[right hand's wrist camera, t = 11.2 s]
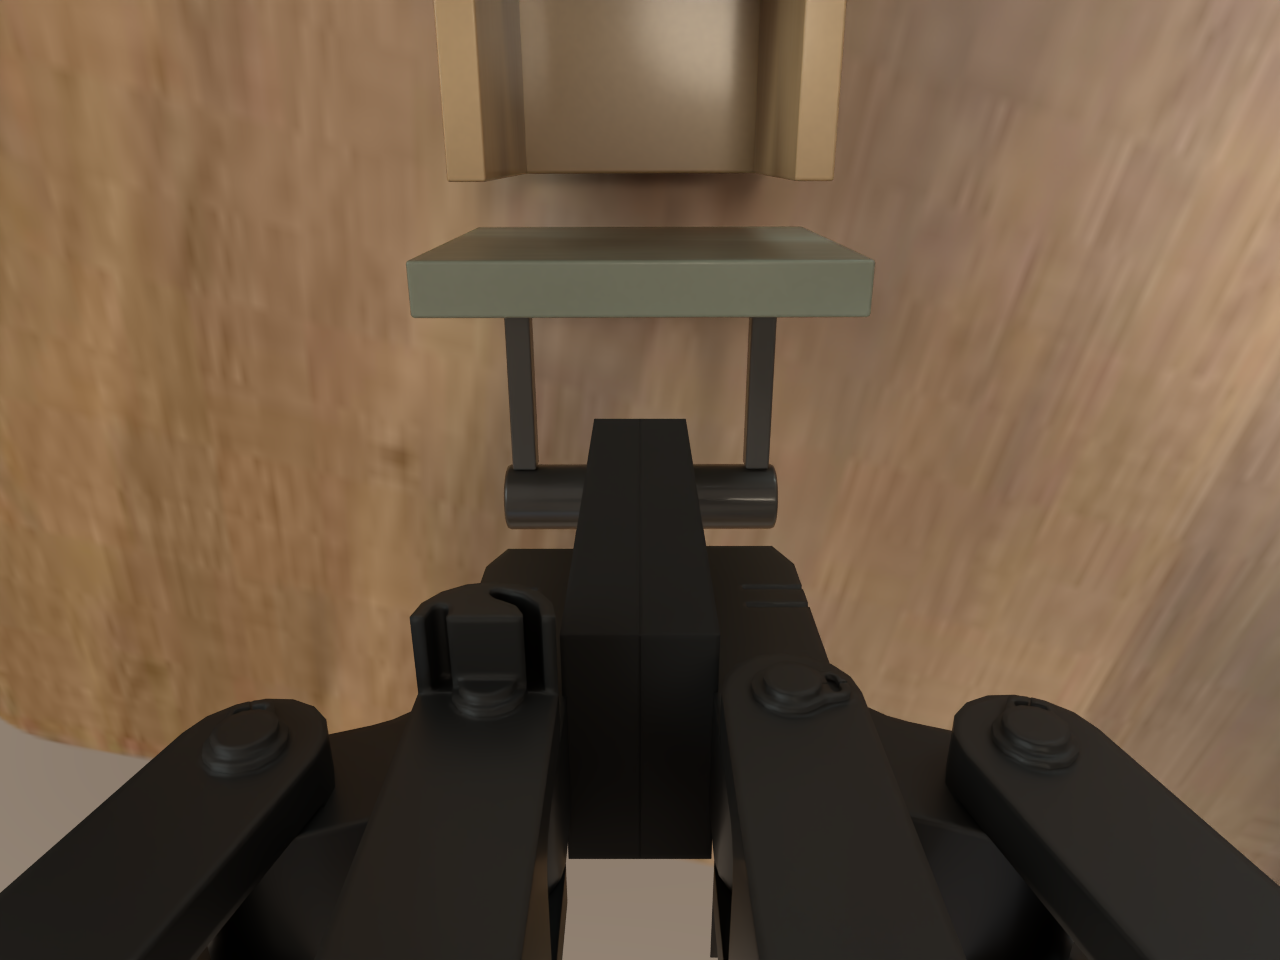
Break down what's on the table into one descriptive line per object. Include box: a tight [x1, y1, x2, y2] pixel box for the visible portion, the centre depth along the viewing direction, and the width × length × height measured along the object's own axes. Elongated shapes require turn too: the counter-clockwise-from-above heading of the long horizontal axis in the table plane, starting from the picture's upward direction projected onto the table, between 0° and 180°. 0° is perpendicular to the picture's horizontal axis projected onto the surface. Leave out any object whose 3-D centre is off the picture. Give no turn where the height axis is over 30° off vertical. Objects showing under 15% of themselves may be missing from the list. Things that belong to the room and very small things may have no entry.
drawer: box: [406, 0, 875, 529], centre depth 20 cm, size 23×10×8 cm, turn 0°
